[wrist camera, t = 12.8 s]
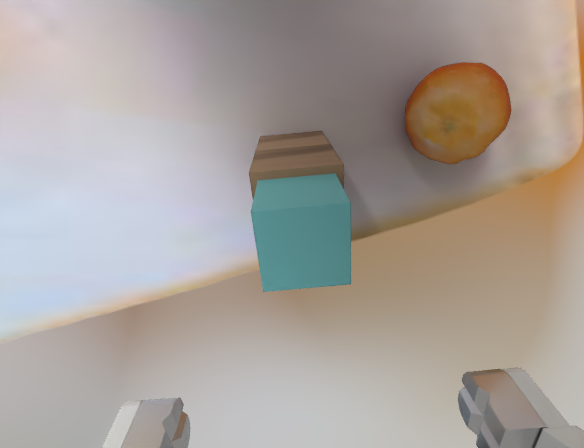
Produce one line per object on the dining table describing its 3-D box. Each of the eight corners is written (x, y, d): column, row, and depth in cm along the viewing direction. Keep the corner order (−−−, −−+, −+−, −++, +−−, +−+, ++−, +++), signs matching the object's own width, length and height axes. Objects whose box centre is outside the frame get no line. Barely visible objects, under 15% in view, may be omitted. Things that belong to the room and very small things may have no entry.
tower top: (255, 150, 26) (248, 172, 20) (330, 143, 25) (343, 164, 20) (264, 218, 28) (261, 253, 23) (332, 212, 28) (344, 245, 23)
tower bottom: (260, 136, 31) (255, 150, 26) (321, 130, 31) (330, 143, 25) (267, 194, 34) (264, 218, 28) (324, 189, 34) (332, 212, 28)
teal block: (257, 180, 20) (251, 212, 16) (335, 173, 20) (350, 202, 16) (266, 247, 23) (263, 291, 18) (337, 241, 23) (350, 284, 18)
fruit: (512, 129, 30) (515, 164, 24) (423, 146, 34) (409, 179, 29) (505, 36, 27) (507, 52, 21) (408, 68, 31) (388, 89, 25)
